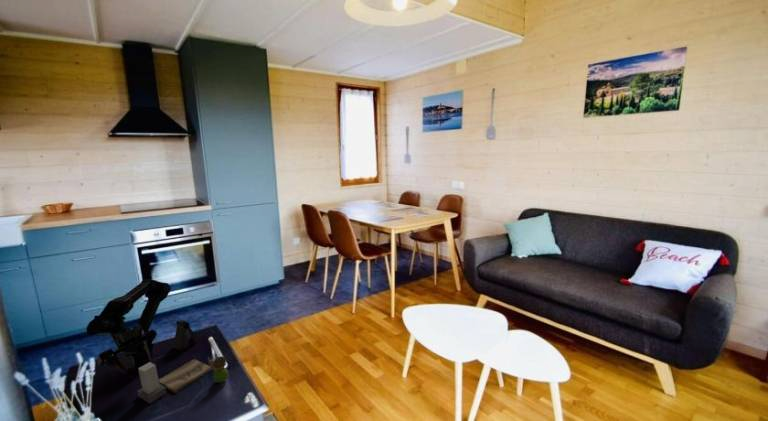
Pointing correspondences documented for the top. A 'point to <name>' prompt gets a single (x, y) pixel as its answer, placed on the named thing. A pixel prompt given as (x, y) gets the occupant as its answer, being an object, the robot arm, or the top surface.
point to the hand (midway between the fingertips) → (139, 365)
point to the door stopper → (180, 336)
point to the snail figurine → (219, 369)
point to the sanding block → (150, 383)
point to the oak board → (184, 375)
